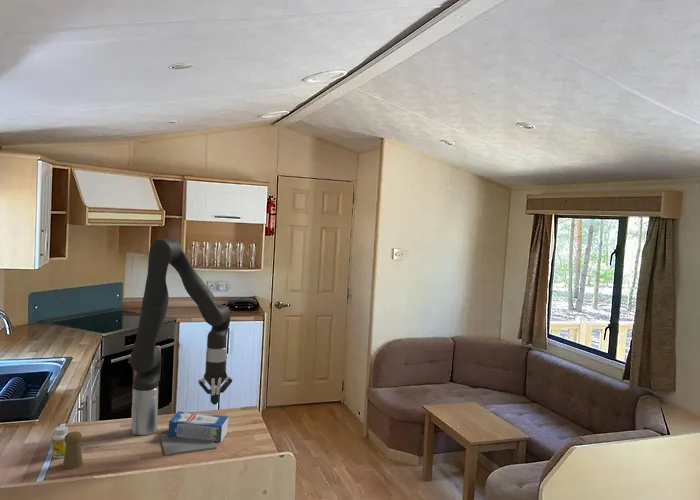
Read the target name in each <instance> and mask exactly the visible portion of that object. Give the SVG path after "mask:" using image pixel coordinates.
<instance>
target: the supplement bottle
mask: <svg viewBox="0 0 700 500" xmlns="http://www.w3.org/2000/svg"><path fill="white" fill-rule="evenodd" d="M68 431H69V428H68V426H67V425H60V426H57V427H55V428H54V431H53V432H54V434H53V435H52V437H51V440H52V441H51V445H52V446H51V456H52V457H53V458H55V459H64V455H65V449H66V443H65V436H66V434H68V433H69V432H68Z"/></svg>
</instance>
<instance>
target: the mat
mask: <svg viewBox="0 0 700 500" xmlns="http://www.w3.org/2000/svg"><path fill="white" fill-rule="evenodd" d="M159 439H160V441H161V445H162V449H163V450H162V451H163V453H164V456H171V455H178V454H188V453H193V452H200V451H208V450H216V449H218V447H217V445H216V442H214V440H203V439H188V438H173V437H168V434H164V435H160V436H159Z"/></svg>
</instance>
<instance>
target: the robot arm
mask: <svg viewBox="0 0 700 500" xmlns="http://www.w3.org/2000/svg"><path fill="white" fill-rule="evenodd" d="M169 265H170V266H172V267H173V268H174V269H175V271H176V272H177V273H178V275H179V277H180V279H181V282H182V285H183V287H184V289H185V291H186V293H187V294H188V295H189V297H190V298H191V300H192V301H193V302H194V303H195V304H196V305H197V307H198V309H199V312H200V315H201V316H202V318H203V320H204V322H206V324H208V325H210V326H211V329H210V331H209V332H208V334H207V339H206V341H207V342H206V350H205V352H206V353H205V371H204V374H203V377H202V378H201V379H198V380H197V382H198V385H199V386H200V387H201V388H202V389H203V390H204V392H205V393H206V394H207V395H210V404H212V405H217V404H218V403H219V401H220V400H219V399H220V394H223V393H225V391H227V389H228V388H229V386H230V385H231V384H232V383H233V378H231V377H229V376H228V374H227V359H228V358H227V357H228V356H227V355H228V354H227V337H228V336H227V335H228V331H229V328H230V323H231V311H230V309H229V307H228V306H227V305H224V304H217V305H216V303H215V302H214V294H213V292H212V291H211V289H210V288H209V287H208V286H207V284H206V283H205V281H203V280H202V278H201V277H200V276H199V274H198V272H197V271H196V270H195V268H194V267H193V265H192V263H191V262H190V260H189V259H188V256H187V255H186V253H185V251H184V249H183V248H182V246H181V244H180V243H179V242H178V241H177V240H176V239H173V238H159V239H156V240H154V241H153V242H152V243H151V245H150V247H149V251H148V261H147V274H146V279H145V280H146V281H145V286H144V293H143V295H142V296H143V297H142V302H141V307H140V316H139V320H138V327H137V334H136V339H135V341H134V345H133V347H132V348H133V349H132V352H131V355H130V366H131V368H132V369H133V370H134V371H135V372H136V373H135V377H134V379H133V381H132V401H131V403H132V405H131V422H130V423H131V424H130V425H131V435H137V436H146V435H147V436H148V435H151V434H154V433H156V431H158V415H159V413H158V410H159V407H158V406H159V405H158V404H159V382H160V379H161V372H162V369H161V368H162V353H161V350H160V349H159V347H158V346H157V345H156V341H157V338H158V334H159V332H160V331H161V328H162V326H163V324H164V322H165V319H166V315H167V311H168V306H169V299H170V295H169V291H168V285H167V273H168V267H169ZM206 383H207V384H208V385H209V388H208V387H207V386H206Z"/></svg>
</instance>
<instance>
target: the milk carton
mask: <svg viewBox="0 0 700 500" xmlns="http://www.w3.org/2000/svg"><path fill="white" fill-rule="evenodd" d="M228 425H229V416H228V415H217V414H207V413H197V412H189V411H188V412H186V411H180V410H179V411H177V412H176V413H175V414H174V415H173V416H172V418H170V419H169V420H168V431H167V432H168V434H167V435H168V437H173V438H188V439H203V440H214V442H215V443H222V441H223V440H224V438H225V436H226V434H227V433H228V427H229V426H228Z"/></svg>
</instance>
